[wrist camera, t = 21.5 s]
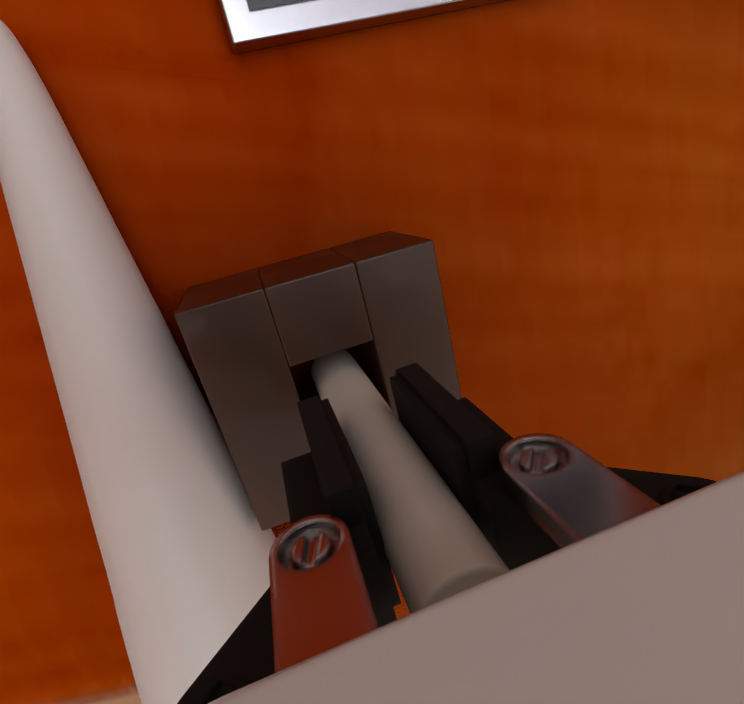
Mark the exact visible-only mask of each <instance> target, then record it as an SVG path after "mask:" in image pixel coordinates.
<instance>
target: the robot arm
mask: <svg viewBox="0 0 744 704" xmlns="http://www.w3.org/2000/svg"><path fill="white" fill-rule="evenodd" d="M390 384H391V388H392V393H393V397H394V401H395V405H396V409H397V413H398V417H399V420H400V422H401V423H402V424H403V426H404V427H405V428H406V430H407V431H408V433H409V434H410V435H411V437H412V438H413V439H414V441H415V442H416V443H417V445H418V446H419V448H420V449H421V450H422V452H423V453H424V454H425V456H426V457H427V458H428V460H429V461H430V462H431V464H432V465H433V467H434V468H435V469H436V471H437V472H438V473H439V475H440V476H441V477H442V479H443V480H444V482H445V483H446V484H447V486H448V487H449V488H450V490H451V491H452V492H453V494H454V495H455V496H456V498H457V499H458V501H459V502H460V503H461V505H462V506H463V507H464V509H465V510H466V511H467V513H468V514H469V515H470V517H471V518H472V520H473V521H474V522H475V524H476V525H477V526H478V528H479V529H480V530H481V532H482V533H483V535H484V536H485V537H486V539H487V540H488V541H489V543H490V544H491V545H492V547H493V548H494V549H495V551H496V552H497V554H498V555H499V556H500V558H501V559H502V560H503V562H504V563H505V564H506V566H507V567H508V569H509V570H510V571H507V572H505V573H503V574H501V575H498V576H496V577H494V578H491V579H489V580H487V581H484V582H482V583H480V584H477V585H475V586H473V587H471V588H468V589H466V590H464V591H461V592H459V593H457V594H454V595H452V596H450V597H448V598H445V599H443V600H441V601H438V602H436V603H434V604H431V605H429V606H427V607H425V608H422V609H420V610H418V611H415V612H413V613H411V614H409V615H406V616H404V617H402V618H400V619H396V615H395V612H394V609H393V607H394V606H397V605H399V604H401V602H400V598H399V595H398V591H397V588H396V584H395V581H394V578H393V574H392V571H391V567H390V564H389V561H388V558H387V556H386V553H385V550H384V543H383V539H382V536H381V533H380V529H379V526H378V522H377V519H376V515H375V512H374V508H373V505H372V501H371V498H370V495H369V491H368V488H367V485H366V483H365V480H364V477H363V475H362V472H361V470H360V468H359V466H358V464H357V461H356V459H355V457H354V455H353V453H352V450H351V448H350V446H349V444H348V442H347V439H346V437H345V435H344V433H343V431H342V428H341V426H340V424H339V422H338V420H337V417H336V415H335V413H334V411H333V409H332V406H331V404H330V402H329V400H328V398H327V399H324V400H321V401H320V400H319V397H318V395H317V396H315V397H312V398H309V399H306V400H303V401H300V402H297V405H298V409H299V412H300V416H301V419H302V422H303V426H304V429H305V433H306V436H307V440H308V443H309V446H310V450H311V452H309V453H306V454H303V455H301V456H298V457H295V458H292V459H289V460H287V461H284V462H281V467H282V473H283V479H284V485H285V491H286V498H287V504H288V510H289V516H290V522H291V525H290V526H288V527H287V528H286V529H284V530H283V531H282V532H281V533H280V534H279V536H278V537H277V538H276V539H275V540H274V542H273V544H272V546H271V548H270V553H269V576H270V587H269V588H268V589H267V590H266V592H265V593H264V594H263V595H262V597H261V598H260V599H259V600H258V602H257V603H256V604H255V606H254V607H253V608H252V609H251V611H250V612H249V613H248V614H247V616H246V617H245V618H244V619H243V621H242V622H241V623H240V624H239V626H238V627H237V628H236V629H235V631H234V632H233V633H232V634H231V636H230V637H229V638H228V639H227V641H226V642H225V643H224V645H223V646H222V647H221V648H220V650H219V651H218V652H217V653H216V655H215V656H214V657H213V658H212V660H211V661H210V662H209V663H208V665H207V666H206V667H205V668H204V670H203V671H202V672H201V673H200V675H199V676H198V677H197V678H196V680H195V681H194V682H193V683H192V685H191V686H190V687H189V689H188V690H187V691H186V692H185V694H184V695H183V696H182V697H181V699H180V700H179V702H178V703H177V704H744V471H741V472H739V473H737V474H734V475H732V476H730V477H727V478H725V479H723V480H720V481H718V482H716V481H714V480H709V479H704V478H698V477H690V476H681V475H672V474H664V473H655V472H646V471H637V470H628V469H619V468H610V467H605V466H604V465H603V464H601V463H600V462H598V461H597V460H595V459H594V458H592V457H591V456H590V455H588V454H587V453H585V452H584V451H582V450H581V449H580V448H578V447H577V446H575V445H574V444H572V443H571V442H569V441H567V440H565V439H563V438H562V437H559V436H555V435H551V434H540V433H537V434H526V435H523V436H519V437H516V438H514V439H513V438H512V437H511V436H510V435H509V434H507V433H506V432H505V431H504V430H503V429H502V428H500V427H499V426H498V425H497V424H496V423H495V422H494V421H492V420H491V419H490V418H489V417H488V416H487V415H485V414H484V413H483V412H482V411H481V410H480V409H478V408H477V407H476V406H475V405H474V404H473V403H472V402H470V401H469V400H468V399H466V398H461V399H459V400H457V399H456V398H455V397H454V396H453V395H452V394H451V393H450V392H448V391H447V390H446V389H445V388H444V387H443V386H442V385H441V384H440V383H438V382H437V381H436V380H435V379H434V378H433V377H432V376H431V375H430V374H429V373H427V372H426V371H425V370H424V369H423V368H422V367H421V366H420V365H419V364H417V363H413V364H410V365H407V366H404V367H401V368H398V369H396V370H395V376H392V377H390Z"/></svg>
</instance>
